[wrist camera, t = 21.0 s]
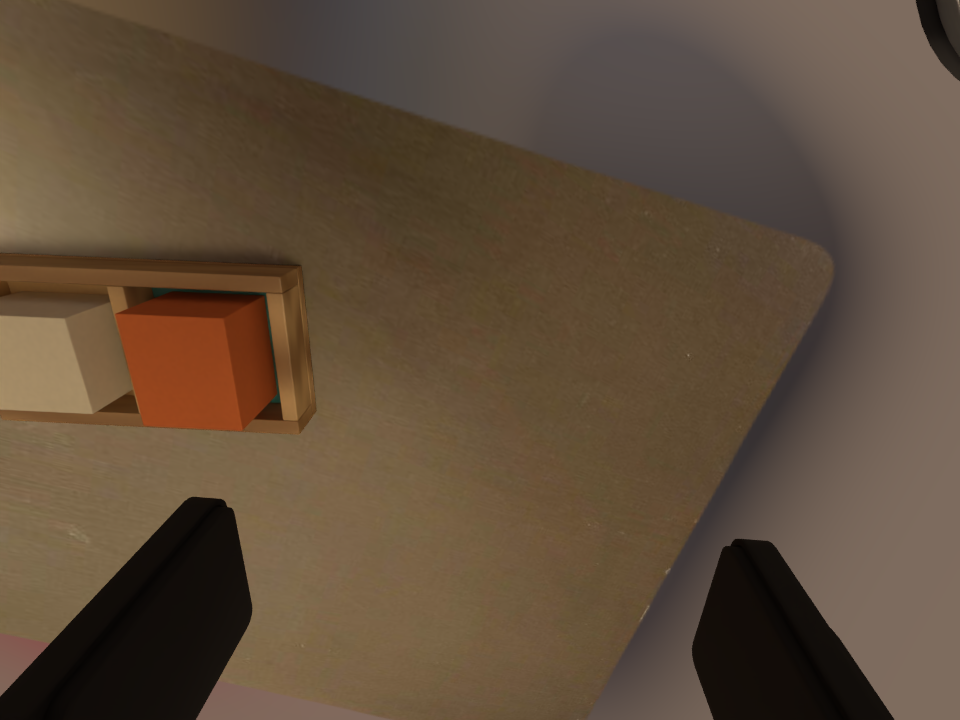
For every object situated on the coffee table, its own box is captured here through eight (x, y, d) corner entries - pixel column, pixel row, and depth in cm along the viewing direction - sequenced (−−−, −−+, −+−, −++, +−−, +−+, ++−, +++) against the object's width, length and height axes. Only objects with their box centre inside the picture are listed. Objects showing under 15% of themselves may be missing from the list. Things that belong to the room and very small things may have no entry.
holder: (-5, 252, 31) (-59, 262, 28) (301, 265, 31) (280, 276, 28) (44, 398, 35) (1, 420, 32) (316, 411, 35) (299, 434, 32)
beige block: (22, 290, 32) (-61, 312, 27) (128, 295, 31) (63, 318, 27) (49, 375, 34) (-22, 409, 29) (148, 379, 34) (92, 414, 29)
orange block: (171, 291, 31) (113, 313, 26) (264, 295, 31) (223, 318, 26) (192, 390, 34) (143, 426, 29) (278, 394, 33) (242, 431, 29)
